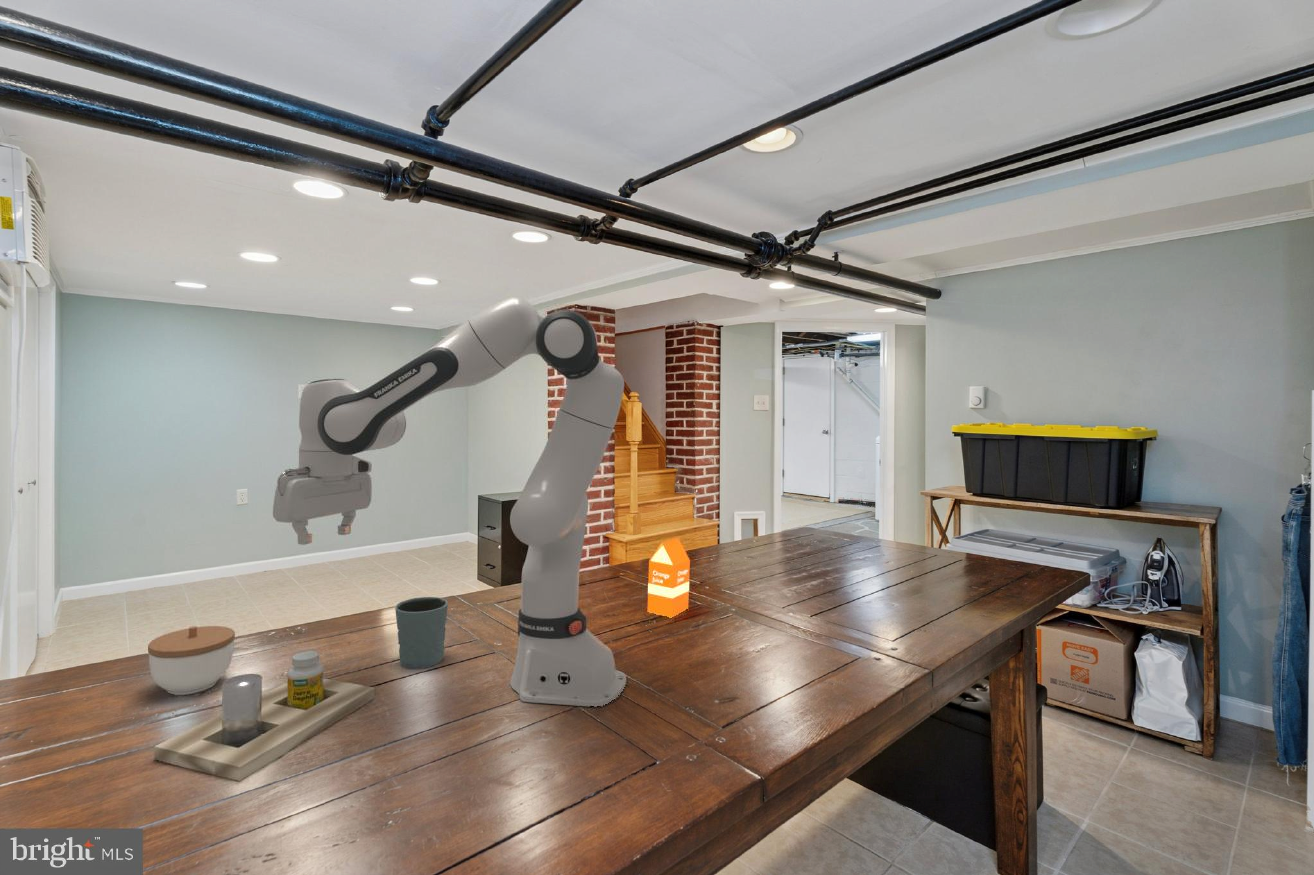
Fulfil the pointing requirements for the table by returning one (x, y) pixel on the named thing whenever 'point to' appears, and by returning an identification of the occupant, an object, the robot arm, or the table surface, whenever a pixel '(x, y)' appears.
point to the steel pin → (241, 709)
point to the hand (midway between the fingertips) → (325, 538)
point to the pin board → (277, 727)
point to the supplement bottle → (305, 681)
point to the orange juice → (668, 579)
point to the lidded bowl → (191, 658)
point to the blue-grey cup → (421, 631)
